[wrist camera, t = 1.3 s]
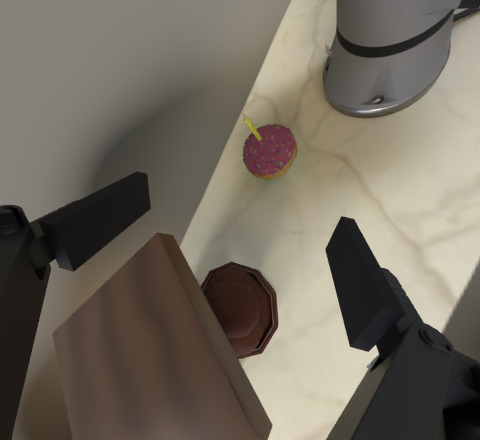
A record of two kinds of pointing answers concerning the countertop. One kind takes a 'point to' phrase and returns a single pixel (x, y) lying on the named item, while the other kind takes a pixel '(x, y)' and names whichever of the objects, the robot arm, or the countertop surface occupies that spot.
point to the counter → (154, 359)
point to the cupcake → (269, 150)
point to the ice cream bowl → (242, 307)
